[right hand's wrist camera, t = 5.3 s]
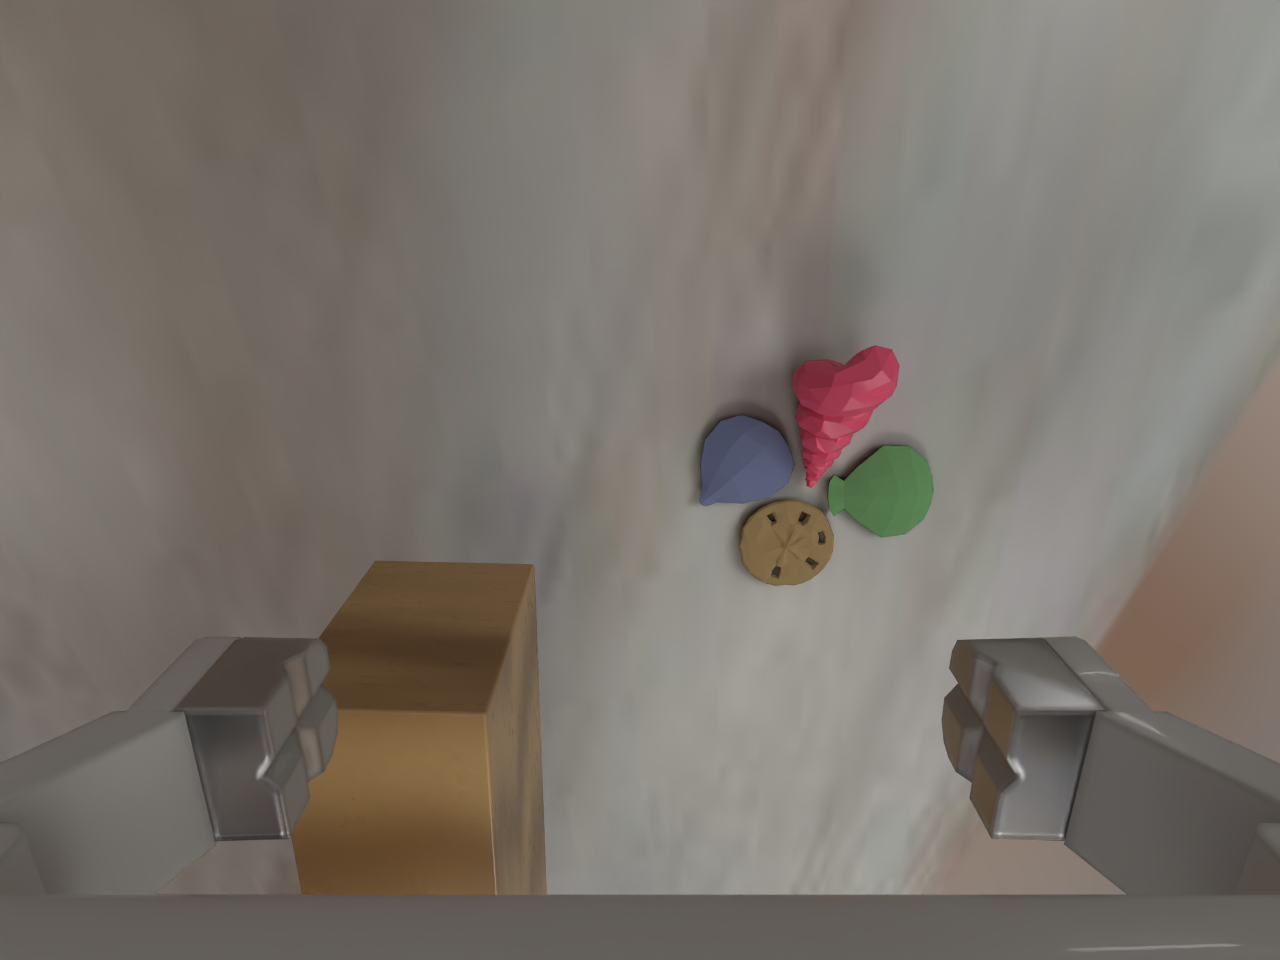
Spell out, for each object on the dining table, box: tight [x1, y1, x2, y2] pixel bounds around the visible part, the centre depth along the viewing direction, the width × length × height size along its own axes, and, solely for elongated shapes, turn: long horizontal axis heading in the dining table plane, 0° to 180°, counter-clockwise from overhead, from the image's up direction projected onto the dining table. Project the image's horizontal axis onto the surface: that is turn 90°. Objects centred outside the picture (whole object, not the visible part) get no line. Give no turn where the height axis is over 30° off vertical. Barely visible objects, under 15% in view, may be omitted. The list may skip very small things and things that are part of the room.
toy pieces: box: [699, 346, 933, 586], centre depth 37 cm, size 12×11×4 cm
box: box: [291, 561, 547, 895], centre depth 31 cm, size 27×6×9 cm, turn 179°
